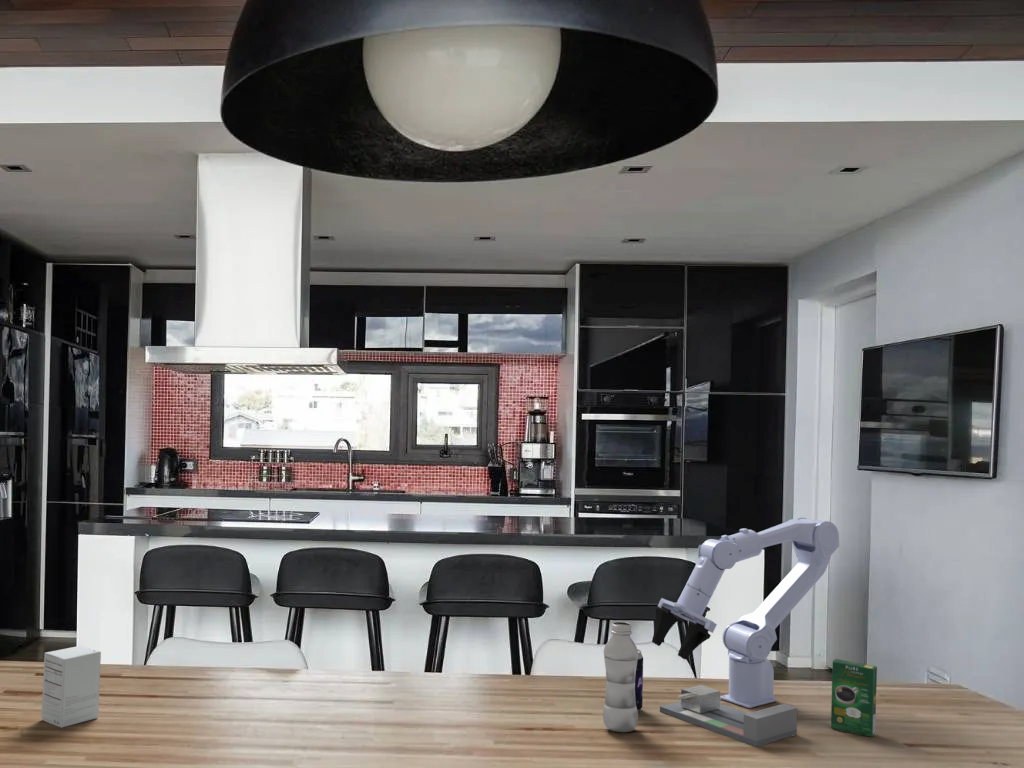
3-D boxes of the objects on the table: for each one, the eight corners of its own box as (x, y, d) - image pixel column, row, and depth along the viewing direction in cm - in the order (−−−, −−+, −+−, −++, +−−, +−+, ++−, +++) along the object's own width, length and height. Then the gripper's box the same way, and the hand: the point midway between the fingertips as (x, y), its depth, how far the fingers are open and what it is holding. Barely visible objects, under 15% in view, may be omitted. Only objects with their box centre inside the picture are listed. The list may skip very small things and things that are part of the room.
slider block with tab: (701, 702, 182) (701, 684, 182) (720, 708, 178) (720, 690, 178) (669, 709, 177) (669, 691, 177) (688, 716, 173) (688, 698, 173)
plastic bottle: (633, 738, 163) (635, 628, 164) (598, 733, 165) (600, 625, 166) (641, 727, 169) (642, 622, 170) (606, 723, 171) (608, 618, 172)
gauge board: (699, 701, 186) (699, 677, 187) (796, 734, 167) (796, 707, 167) (659, 711, 179) (660, 686, 179) (756, 746, 160) (756, 718, 160)
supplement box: (78, 710, 171) (81, 644, 172) (99, 718, 167) (102, 650, 167) (39, 720, 165) (43, 651, 166) (60, 728, 161) (63, 658, 161)
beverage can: (641, 715, 176) (642, 655, 177) (613, 713, 177) (614, 652, 178) (643, 707, 182) (644, 648, 182) (615, 705, 183) (616, 646, 183)
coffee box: (877, 734, 168) (877, 664, 169) (874, 738, 166) (874, 667, 167) (834, 725, 173) (834, 657, 174) (830, 729, 171) (830, 660, 172)
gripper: (662, 573, 189) (633, 631, 186) (713, 595, 177) (682, 656, 174) (681, 587, 192) (652, 643, 189) (732, 609, 181) (702, 669, 178)
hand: (668, 650), depth 182 cm, fingers open, 7 cm apart
